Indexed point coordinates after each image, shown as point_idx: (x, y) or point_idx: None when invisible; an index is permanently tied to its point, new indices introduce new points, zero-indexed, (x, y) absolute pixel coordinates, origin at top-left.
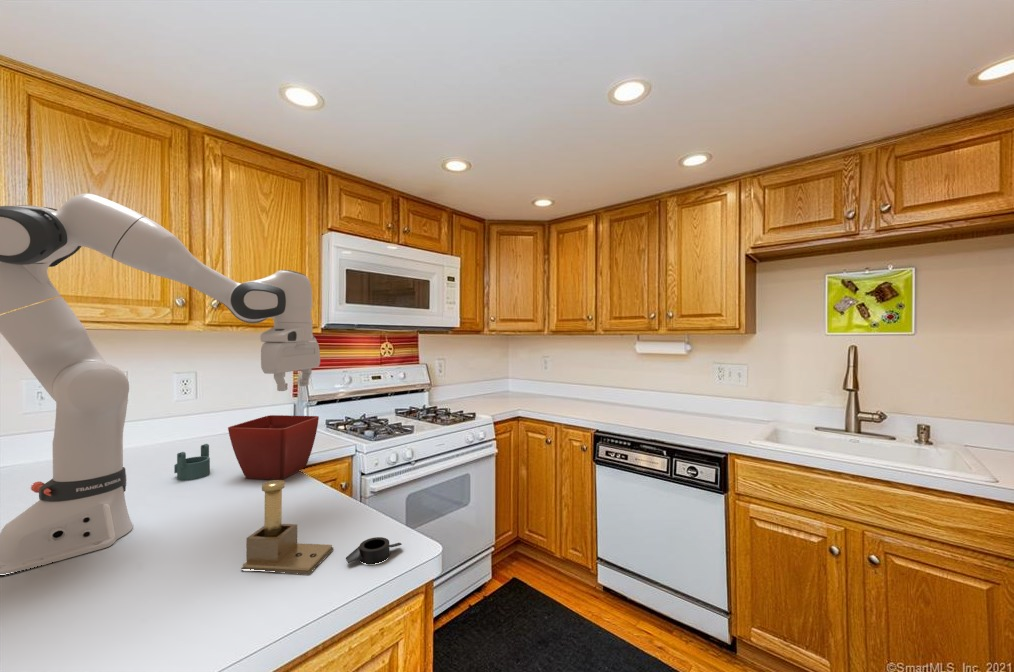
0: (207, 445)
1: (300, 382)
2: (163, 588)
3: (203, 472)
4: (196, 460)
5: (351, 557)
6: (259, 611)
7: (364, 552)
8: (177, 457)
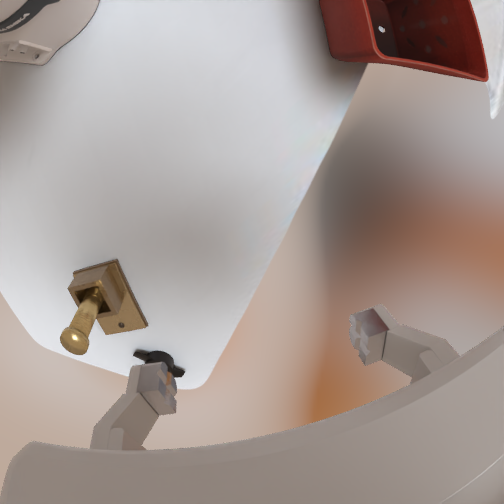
0: None
1: (361, 328)
2: (26, 228)
3: None
4: None
5: (138, 356)
6: (61, 329)
7: None
8: None
